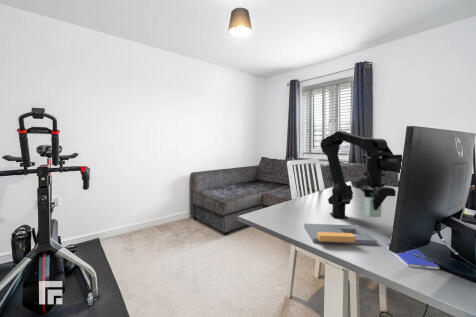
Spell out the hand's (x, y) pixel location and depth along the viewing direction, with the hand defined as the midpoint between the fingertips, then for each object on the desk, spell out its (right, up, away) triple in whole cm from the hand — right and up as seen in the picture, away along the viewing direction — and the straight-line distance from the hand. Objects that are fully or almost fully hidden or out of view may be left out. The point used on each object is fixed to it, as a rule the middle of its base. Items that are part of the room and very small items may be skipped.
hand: (372, 207), depth 88 cm
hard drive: (0, -12, -20) cm, 23 cm away
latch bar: (-20, -9, -12) cm, 25 cm away
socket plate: (-16, -10, -4) cm, 19 cm away
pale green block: (0, -3, 0) cm, 3 cm away
